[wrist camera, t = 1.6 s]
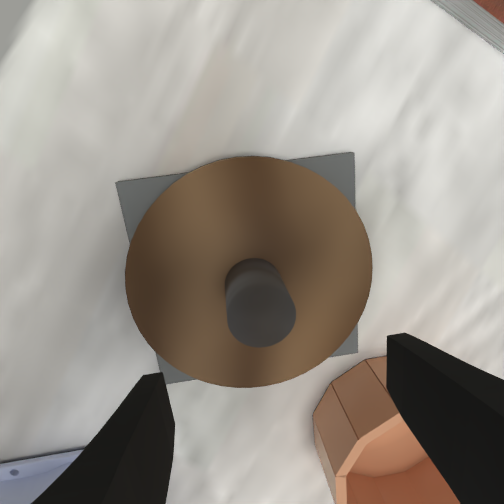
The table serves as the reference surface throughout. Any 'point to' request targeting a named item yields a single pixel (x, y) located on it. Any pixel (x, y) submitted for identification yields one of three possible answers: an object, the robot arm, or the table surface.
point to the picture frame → (479, 18)
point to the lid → (248, 272)
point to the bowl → (372, 444)
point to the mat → (149, 189)
